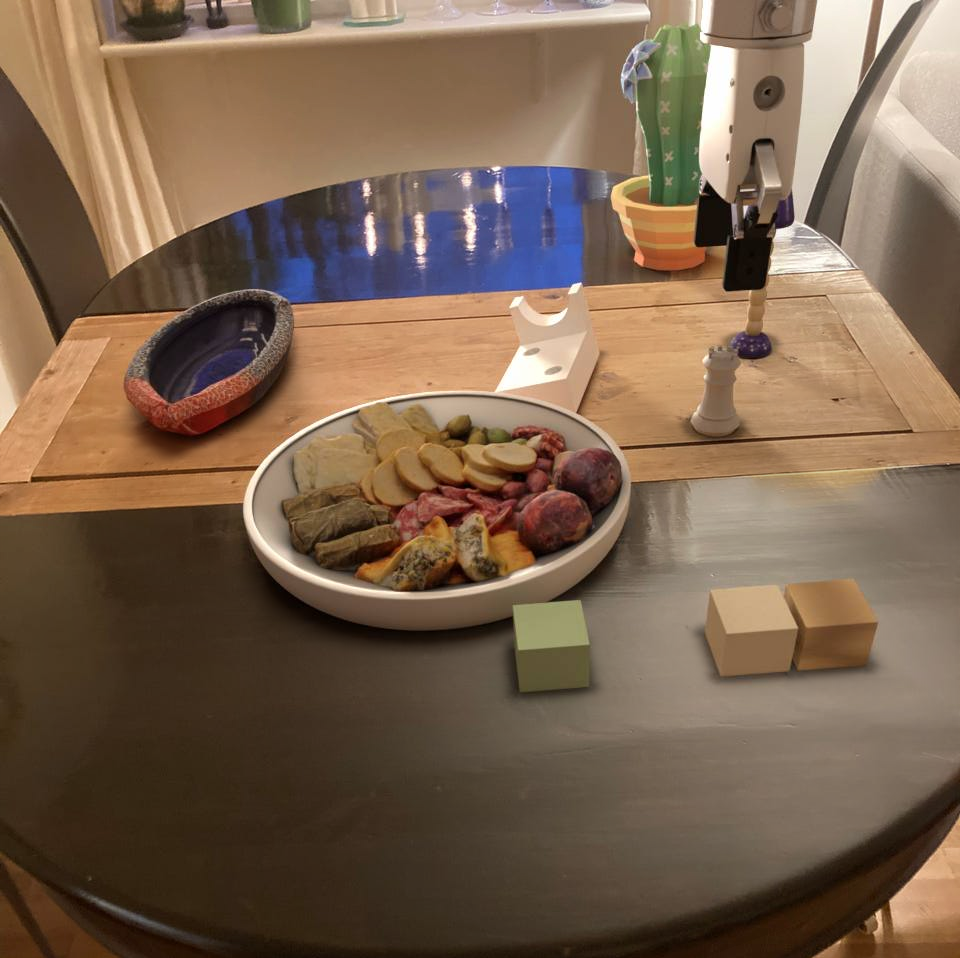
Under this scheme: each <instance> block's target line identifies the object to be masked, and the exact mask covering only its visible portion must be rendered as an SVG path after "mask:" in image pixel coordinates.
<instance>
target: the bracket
mask: <svg viewBox="0 0 960 958" xmlns="http://www.w3.org/2000/svg"><path fill="white" fill-rule="evenodd" d="M567 299H568V300H567V302H568V303H567V307H566V308H565V309H564V310H562V311H561V312H559V313H557V314H552V315H547V314H542V313H539V312H538V311H536V310H534V309H533V308H532V307H531V306H530V305H529V304H528V302H527V300H526V299H525V296H524V295H521V296H516V297H514V299H513V300H512V302H511V304H510V306H509V307H508V309H509V312H510V316H511V319H512V323H513V325H514V329H515V333H516V335H517V338H518V343H519V347H518V349H517V351H516V353H515V355H513V358H512V360H511V362H510V364H509V365H508V368H507V369H506V371H505V373H504V375H503V376H502V379H501V380H500V382H499V384H498V386H497V387H496V389H495V391H494V392H497V393H506V394H512V395H519V396H524V397H529V398H533V399H537V400H541V401H545V402H548V403H551V404H554V405H557V406H560V407H563V408H565V409H567V410H570V411H572V412H574V413H576V414H577V412H578V409H579V407H580V404H581V401H582V399H583V397H584V394H585V392H586V389H587V388H588V385H589V383H590V380H591V376H592V375H593V372H594V369H595V367H596V364H597V362H598V359H599V357H600V354H601V353H600V349H599V345H598V341H597V337H596V333H595V330H594V329H595V328H594V326H593V325H594V324H593V322H592V318H591V313H590V309H589V306H588V305H589V304H588V301H587V298H586V294H585V290H584V286H583V282H577V283H573V284H572V285H571V287H570V289H569V290H568V292H567Z"/></svg>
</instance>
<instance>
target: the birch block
mask: <svg viewBox="0 0 960 958" xmlns="http://www.w3.org/2000/svg"><path fill="white" fill-rule="evenodd" d="M783 597H784V599H785V601H786V603H787V605H788V607H789V610H790V612H791V614H792V616H793V618H794V620H795V622H796V624H797V627H798V632H797V637H796V642H795V646H794V651H793V656H792V661H793V663H794V666H795V668H796V670H797V671H809V670H820V669H833V668H846V667H847V668H848V667H860V666H867V665H868V663H869V662H868V661H869V657H870V654H871V650H872V647H873V644H874V643H873V642H874V640H875V636H876V632H877V628H878V626H879V620H878V619H877V616H876V615H875V613H874V611H873V609H872V608H871V606H870V604H869V602H868V601H867V599H866V597H865V596H864V594H863V592H862V590H861V589H860V587H859V585H858V584H857V582H856V580H855V579H854V578H845V579H833V580H821V581H819V580H818V581H807V582H793V583H792V582H791V583H786V584H785V587H784V594H783Z"/></svg>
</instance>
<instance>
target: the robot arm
mask: <svg viewBox="0 0 960 958" xmlns="http://www.w3.org/2000/svg"><path fill="white" fill-rule="evenodd" d="M817 5H818V0H703V4H702V15H701V26H700V28H701V36H700V40H701V41H702V42H703V43H706V44H710V45H711V53H710V60H709V62H708V73H707V80H706V88H705V95H704V104H703V113H702V122H701V132H700V145H699V165H700V170H701V172H702V175H701V178H700V181H699V192H700V194H706V195H698V202H697V212H696V222H695V232H694V244H695V246H696V247H707V248H711V247H713V248H714V247H726V249H725V257H724V266H723V273H722V281H721V287H722V289H723V290H724V291H725V292H729V293H730V292H744V291H745V292H747V291H750V290H760V289H763V288H764V287H765V284H766V278H767V271H768V265H769V258H770V257H771V256H770V251H771V245H772V238H773V236H774V233H775V221H776V219H777V218H778V213H777V211H778V209H777V207H778V204H779V201H780V200H785V199H786V198H787V197H788V196H789V195H790V193H791V190H792V191H793V184H794V176H795V167H796V160H797V153H798V152H797V151H798V142H799V134H800V126H801V116H802V106H803V105H802V104H803V94H804V93H803V92H804V78H805V77H804V76H805V43H807V42H809V41H811V40H812V39H813V31H814V23H815V18H816V17H815V16H816V12H817ZM754 189H757V191H754ZM743 190H744V191H743ZM745 190H746V191H745ZM749 205H756V206H752V207H751V208H750V210H749V211H748V213H747V215H746V217H745V219H744V216H745V212H744V211H745V210H744V207H746V206H747V207H748V206H749Z"/></svg>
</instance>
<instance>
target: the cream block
mask: <svg viewBox="0 0 960 958" xmlns="http://www.w3.org/2000/svg"><path fill="white" fill-rule="evenodd" d="M706 611H707V612H706V619H705V628H704V634H705V637H706V640H707V642H708V645H709V649H710V650H711V651H710V652H711V654H712V657H713V660H714V662H715V665H716V668H717V670H718V673H719V676H720V677H731V676H745V675H757V674H758V675H759V674H771V673H782V672H790V670H791V666H792V661H793V659H792V656H793V651H794V646H795V642H796V637H797V632H798V627H797V624H796V622H795V620H794V618H793V616H792V614H791V612H790V610H789V607H788V605H787V603H786V601H785V599H784V594H783V593H782V590H781V588H780V586H779V585H778V584H769V585H768V584H767V585H757V586H756V585H755V586H742V587H731V588H729V587H728V588H717V589H716V588H715V589H710V590H709V595H708V603H707V610H706Z"/></svg>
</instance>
